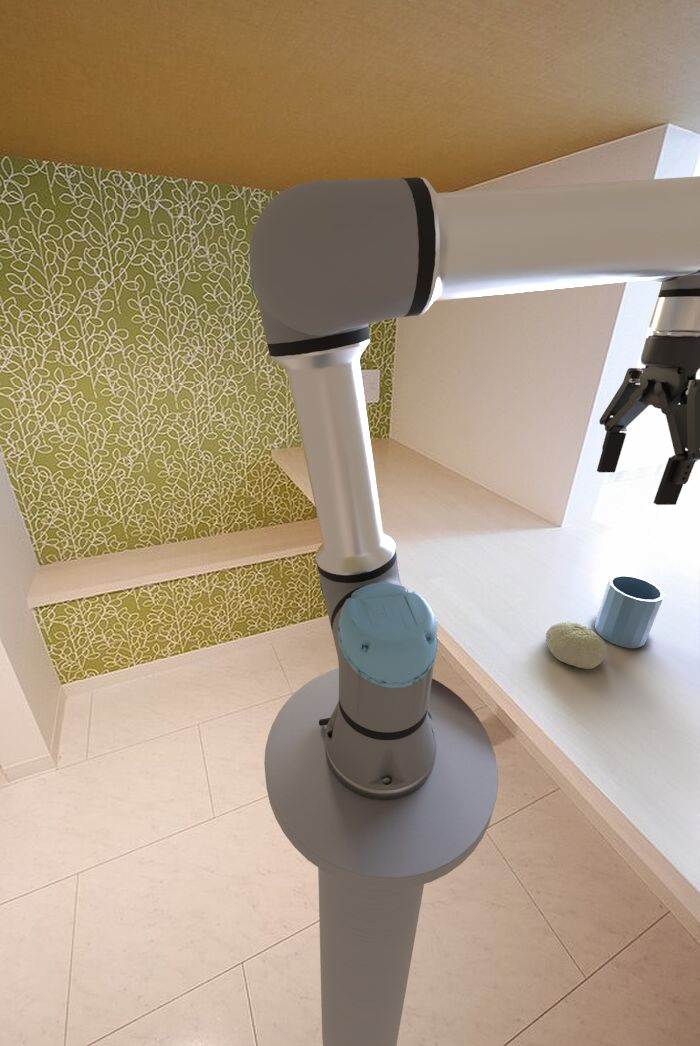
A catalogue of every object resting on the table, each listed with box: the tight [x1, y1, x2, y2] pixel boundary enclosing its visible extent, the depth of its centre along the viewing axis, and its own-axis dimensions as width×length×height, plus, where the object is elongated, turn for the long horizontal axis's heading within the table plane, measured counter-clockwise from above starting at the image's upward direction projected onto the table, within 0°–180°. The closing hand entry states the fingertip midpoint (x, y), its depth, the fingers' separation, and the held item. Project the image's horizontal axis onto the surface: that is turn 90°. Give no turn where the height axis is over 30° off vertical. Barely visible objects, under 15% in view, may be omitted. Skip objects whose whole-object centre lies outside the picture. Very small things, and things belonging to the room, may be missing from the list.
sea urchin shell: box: [545, 621, 607, 670], centre depth 74 cm, size 9×8×8 cm
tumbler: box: [594, 574, 665, 649], centre depth 78 cm, size 8×8×10 cm
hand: (632, 486), depth 66 cm, fingers open, 13 cm apart
